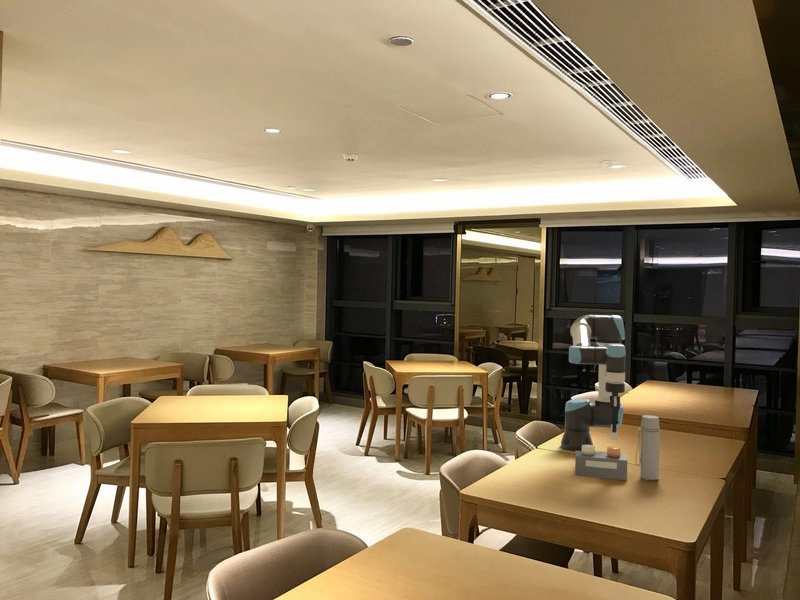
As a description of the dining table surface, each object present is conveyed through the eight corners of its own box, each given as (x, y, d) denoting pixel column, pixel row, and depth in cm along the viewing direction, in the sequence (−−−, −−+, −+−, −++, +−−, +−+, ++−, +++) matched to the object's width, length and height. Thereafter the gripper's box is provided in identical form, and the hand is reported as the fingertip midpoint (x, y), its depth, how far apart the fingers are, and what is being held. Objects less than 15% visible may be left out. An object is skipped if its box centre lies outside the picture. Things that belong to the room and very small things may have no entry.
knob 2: (606, 472, 265) (607, 446, 265) (619, 473, 264) (620, 447, 264) (606, 476, 260) (607, 449, 260) (620, 477, 259) (620, 450, 259)
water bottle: (655, 476, 263) (657, 415, 263) (661, 481, 255) (663, 419, 255) (632, 475, 264) (633, 414, 263) (637, 480, 256) (639, 418, 256)
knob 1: (581, 470, 268) (581, 444, 268) (594, 471, 266) (594, 445, 266) (581, 473, 263) (581, 447, 263) (594, 474, 261) (595, 448, 261)
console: (575, 469, 271) (575, 450, 271) (625, 473, 265) (625, 454, 265) (575, 475, 261) (575, 456, 261) (627, 480, 255) (627, 460, 255)
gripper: (605, 379, 269) (603, 435, 269) (605, 384, 256) (604, 442, 257) (623, 380, 267) (622, 436, 267) (625, 385, 254) (624, 444, 255)
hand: (613, 439), depth 262 cm, fingers closed
